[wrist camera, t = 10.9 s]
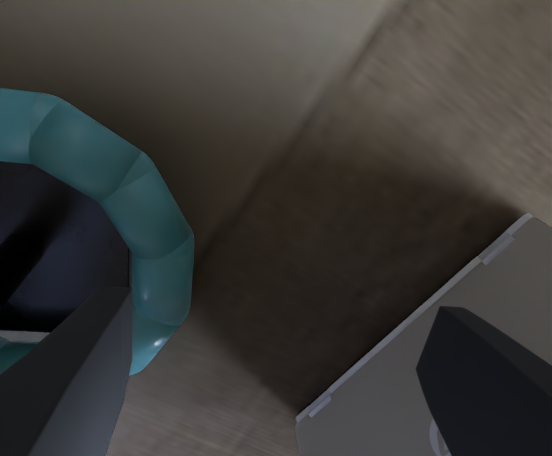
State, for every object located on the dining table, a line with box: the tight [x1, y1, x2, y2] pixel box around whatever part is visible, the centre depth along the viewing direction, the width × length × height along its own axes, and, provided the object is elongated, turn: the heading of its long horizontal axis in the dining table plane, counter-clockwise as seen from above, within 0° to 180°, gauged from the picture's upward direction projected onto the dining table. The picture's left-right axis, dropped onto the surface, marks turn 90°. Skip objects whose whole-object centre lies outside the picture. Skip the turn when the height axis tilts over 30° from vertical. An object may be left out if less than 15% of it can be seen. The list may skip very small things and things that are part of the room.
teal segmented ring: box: [0, 88, 194, 376], centre depth 17 cm, size 14×14×2 cm
